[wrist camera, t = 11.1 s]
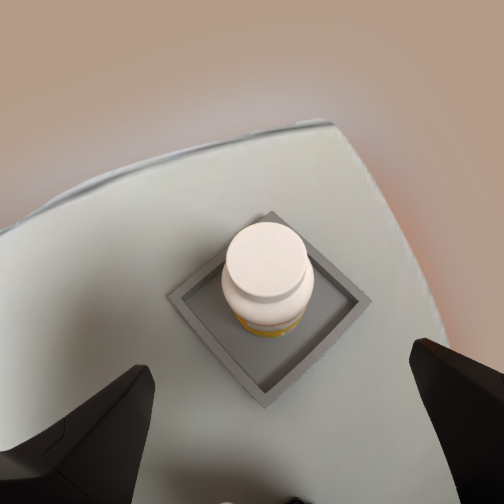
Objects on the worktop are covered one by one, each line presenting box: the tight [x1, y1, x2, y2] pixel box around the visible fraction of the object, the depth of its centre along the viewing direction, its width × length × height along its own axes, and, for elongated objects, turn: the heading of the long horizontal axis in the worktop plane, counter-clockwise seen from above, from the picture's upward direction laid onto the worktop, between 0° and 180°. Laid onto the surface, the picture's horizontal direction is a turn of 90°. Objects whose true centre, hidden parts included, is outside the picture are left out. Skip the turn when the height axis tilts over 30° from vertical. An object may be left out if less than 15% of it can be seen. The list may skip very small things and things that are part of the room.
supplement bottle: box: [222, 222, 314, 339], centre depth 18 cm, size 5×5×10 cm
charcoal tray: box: [168, 211, 372, 409], centre depth 22 cm, size 12×12×2 cm
